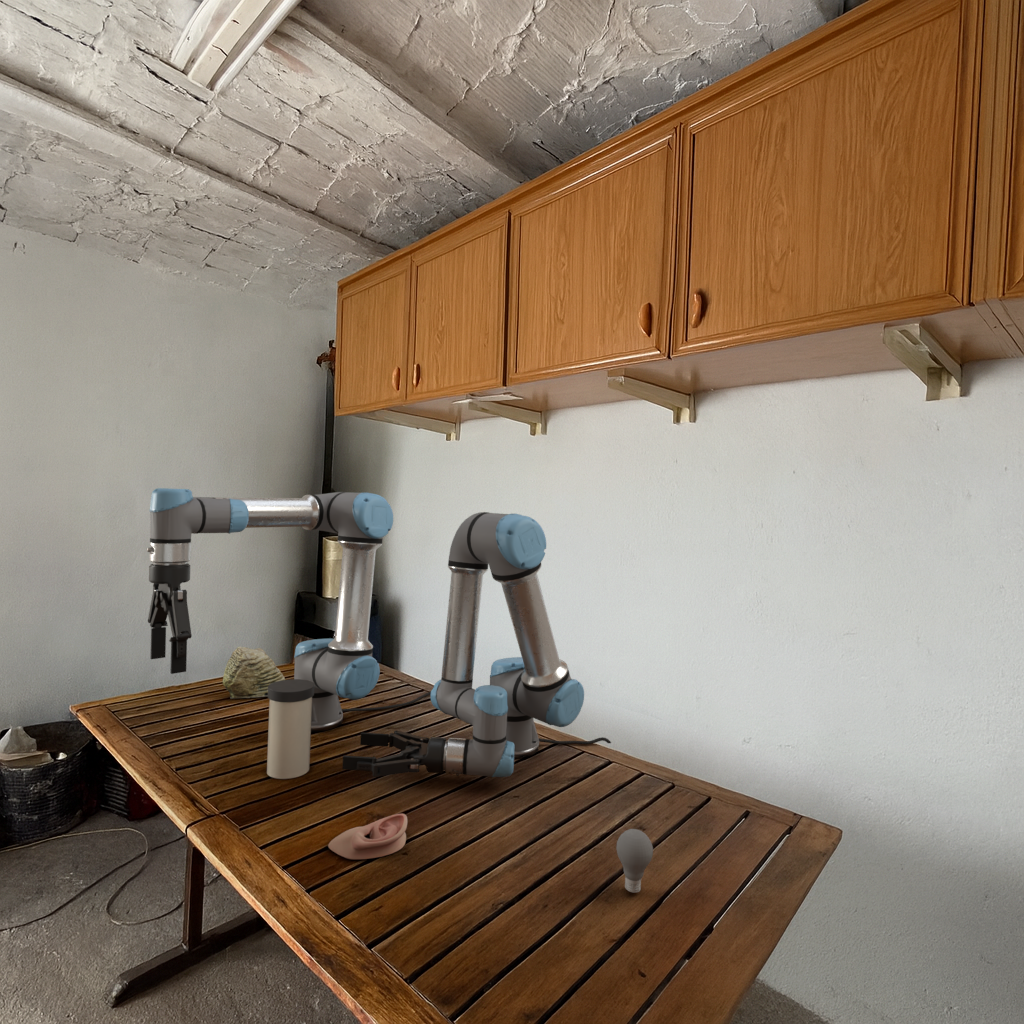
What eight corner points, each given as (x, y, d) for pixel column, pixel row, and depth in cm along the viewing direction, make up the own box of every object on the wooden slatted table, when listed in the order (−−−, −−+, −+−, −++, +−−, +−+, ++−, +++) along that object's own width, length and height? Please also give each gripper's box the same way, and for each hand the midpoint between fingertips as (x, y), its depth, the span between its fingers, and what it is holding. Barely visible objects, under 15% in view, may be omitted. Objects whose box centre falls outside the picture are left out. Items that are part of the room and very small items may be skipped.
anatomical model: (320, 832, 112) (349, 802, 123) (319, 854, 112) (349, 822, 123) (391, 843, 109) (414, 812, 121) (390, 866, 109) (413, 832, 121)
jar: (262, 766, 147) (265, 684, 147) (303, 758, 152) (306, 679, 152) (271, 782, 139) (274, 695, 139) (314, 774, 144) (317, 690, 144)
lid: (263, 691, 147) (263, 682, 147) (307, 686, 153) (308, 677, 152) (272, 704, 139) (273, 694, 139) (319, 698, 144) (319, 688, 144)
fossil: (218, 695, 195) (220, 647, 195) (278, 685, 208) (279, 640, 207) (228, 703, 189) (230, 653, 188) (289, 692, 201) (290, 645, 201)
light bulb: (610, 879, 108) (613, 822, 108) (644, 879, 109) (647, 822, 109) (619, 902, 102) (622, 840, 102) (655, 901, 103) (658, 840, 103)
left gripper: (133, 557, 137) (131, 655, 138) (169, 570, 119) (166, 682, 120) (170, 556, 142) (168, 650, 143) (210, 568, 124) (208, 675, 125)
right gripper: (435, 798, 130) (333, 791, 131) (452, 750, 155) (366, 745, 156) (437, 761, 130) (335, 755, 131) (453, 719, 155) (368, 714, 156)
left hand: (167, 665), depth 131 cm, fingers open, 13 cm apart
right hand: (352, 749), depth 143 cm, fingers open, 13 cm apart
